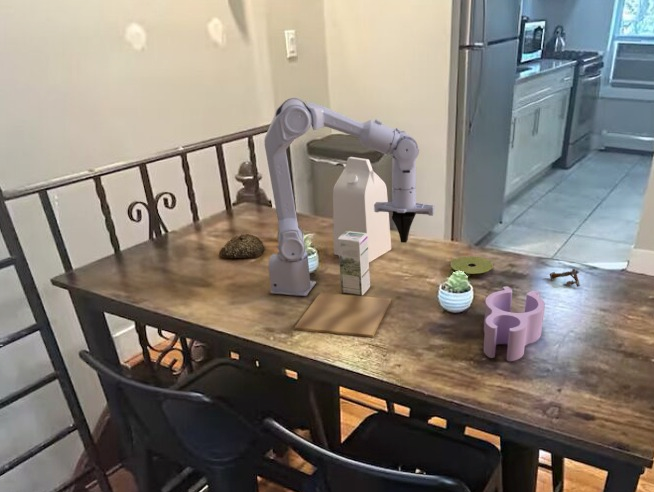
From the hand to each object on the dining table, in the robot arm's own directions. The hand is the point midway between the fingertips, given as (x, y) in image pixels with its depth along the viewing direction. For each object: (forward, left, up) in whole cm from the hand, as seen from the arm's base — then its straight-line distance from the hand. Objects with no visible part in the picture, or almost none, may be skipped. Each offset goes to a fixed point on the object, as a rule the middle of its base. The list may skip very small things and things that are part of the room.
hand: (404, 241), depth 150 cm
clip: (+29, -25, -11) cm, 39 cm away
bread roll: (-50, +10, -11) cm, 52 cm away
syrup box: (-11, -9, -11) cm, 17 cm away
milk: (-16, +16, -11) cm, 25 cm away
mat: (+16, +8, -11) cm, 21 cm away
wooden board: (-10, -22, -10) cm, 26 cm away
